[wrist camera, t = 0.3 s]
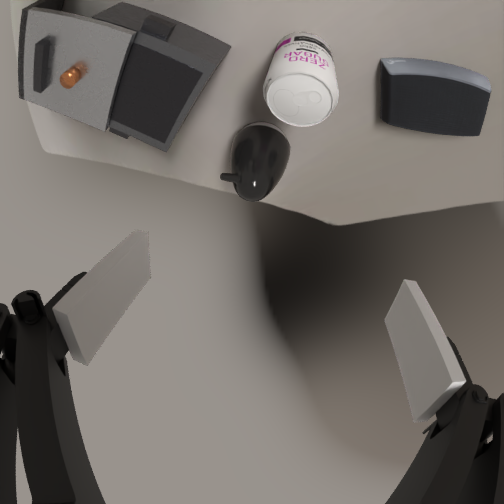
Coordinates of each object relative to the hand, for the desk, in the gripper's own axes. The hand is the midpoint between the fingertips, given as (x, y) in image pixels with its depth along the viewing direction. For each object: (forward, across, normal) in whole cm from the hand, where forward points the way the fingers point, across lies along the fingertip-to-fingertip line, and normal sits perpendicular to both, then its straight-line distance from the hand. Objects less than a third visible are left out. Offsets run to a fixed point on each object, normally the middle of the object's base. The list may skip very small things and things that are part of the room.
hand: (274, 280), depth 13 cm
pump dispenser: (+41, -5, +4) cm, 42 cm away
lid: (+29, -36, +20) cm, 50 cm away
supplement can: (+31, 0, +18) cm, 36 cm away
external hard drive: (+32, +22, +19) cm, 43 cm away
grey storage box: (+33, -24, +15) cm, 44 cm away
